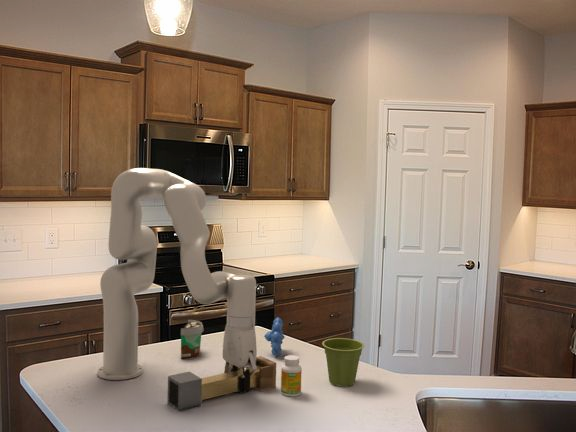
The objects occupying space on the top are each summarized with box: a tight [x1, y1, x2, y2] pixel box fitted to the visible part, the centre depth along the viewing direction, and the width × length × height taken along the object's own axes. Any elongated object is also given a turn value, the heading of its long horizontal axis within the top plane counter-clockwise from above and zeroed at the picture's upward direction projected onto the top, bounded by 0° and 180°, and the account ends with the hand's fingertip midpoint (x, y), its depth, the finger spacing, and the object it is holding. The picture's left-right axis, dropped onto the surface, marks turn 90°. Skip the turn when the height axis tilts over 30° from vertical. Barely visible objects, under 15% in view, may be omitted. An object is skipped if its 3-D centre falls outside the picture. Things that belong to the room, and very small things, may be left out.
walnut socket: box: [246, 355, 277, 392], centre depth 156 cm, size 7×5×7 cm
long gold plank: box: [201, 365, 263, 401], centre depth 149 cm, size 4×24×4 cm, turn 129°
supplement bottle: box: [280, 354, 303, 398], centre depth 151 cm, size 5×5×10 cm
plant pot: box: [321, 337, 365, 388], centre depth 160 cm, size 12×12×11 cm
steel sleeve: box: [167, 371, 203, 413], centre depth 141 cm, size 6×6×7 cm
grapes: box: [263, 316, 285, 357], centre depth 185 cm, size 12×7×12 cm, turn 176°
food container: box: [180, 319, 205, 360], centre depth 182 cm, size 12×6×10 cm, turn 179°
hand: (239, 388), depth 152 cm, fingers closed on long gold plank, 4 cm apart
